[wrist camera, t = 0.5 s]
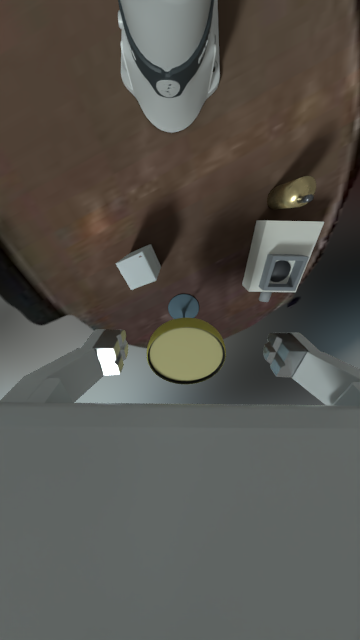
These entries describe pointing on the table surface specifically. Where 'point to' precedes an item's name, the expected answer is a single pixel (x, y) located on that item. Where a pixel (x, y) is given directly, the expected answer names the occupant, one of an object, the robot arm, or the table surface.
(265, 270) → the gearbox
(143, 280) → the supplement box
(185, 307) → the cocktail glass
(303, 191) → the spout can
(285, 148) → the table surface
